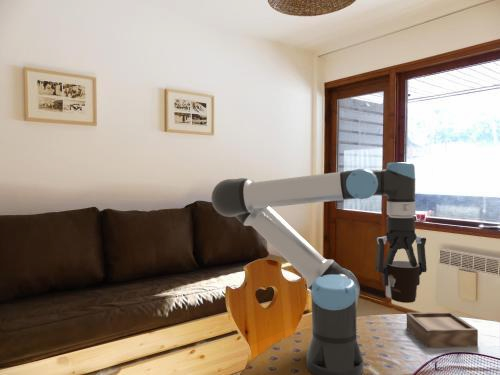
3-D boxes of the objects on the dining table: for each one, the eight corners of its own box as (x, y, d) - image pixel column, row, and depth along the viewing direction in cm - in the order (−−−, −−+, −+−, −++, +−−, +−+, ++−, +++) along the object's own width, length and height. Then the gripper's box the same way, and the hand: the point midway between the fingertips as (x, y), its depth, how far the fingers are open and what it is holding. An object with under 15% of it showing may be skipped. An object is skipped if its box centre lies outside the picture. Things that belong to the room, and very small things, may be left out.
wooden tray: (427, 347, 114) (427, 330, 114) (406, 327, 129) (406, 312, 129) (477, 346, 114) (477, 329, 114) (451, 326, 129) (451, 312, 129)
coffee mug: (422, 304, 103) (422, 268, 103) (389, 303, 105) (389, 267, 105) (413, 292, 115) (413, 259, 114) (383, 290, 116) (383, 258, 116)
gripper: (371, 218, 105) (371, 301, 106) (441, 217, 105) (441, 300, 106) (363, 215, 113) (363, 293, 114) (428, 214, 113) (428, 292, 114)
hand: (401, 296), depth 110 cm, fingers closed on coffee mug, 6 cm apart
